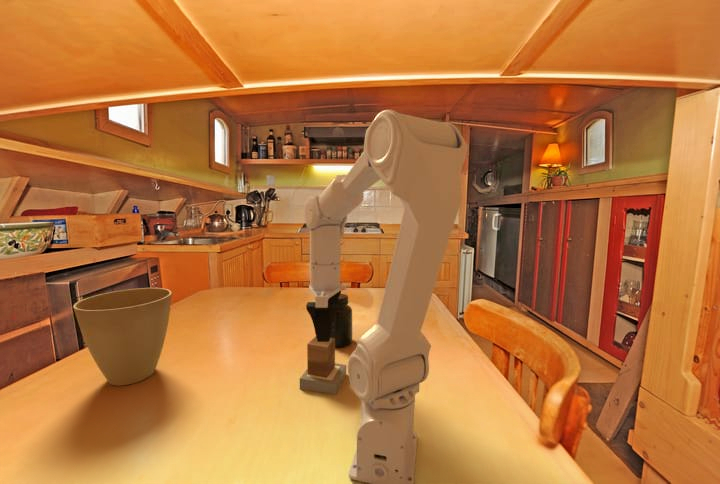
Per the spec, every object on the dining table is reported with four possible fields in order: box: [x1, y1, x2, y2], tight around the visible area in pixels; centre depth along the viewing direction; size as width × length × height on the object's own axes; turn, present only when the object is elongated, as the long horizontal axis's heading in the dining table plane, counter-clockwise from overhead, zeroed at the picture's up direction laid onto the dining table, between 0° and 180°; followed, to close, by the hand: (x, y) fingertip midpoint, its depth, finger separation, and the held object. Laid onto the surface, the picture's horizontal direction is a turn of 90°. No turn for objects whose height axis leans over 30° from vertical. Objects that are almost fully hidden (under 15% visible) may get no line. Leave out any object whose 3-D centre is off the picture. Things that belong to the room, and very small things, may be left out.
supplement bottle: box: [330, 293, 353, 349], centre depth 75 cm, size 7×7×12 cm
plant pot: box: [72, 287, 173, 387], centre depth 59 cm, size 15×15×16 cm
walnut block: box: [306, 336, 336, 378], centre depth 58 cm, size 4×4×6 cm
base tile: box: [299, 362, 347, 395], centre depth 59 cm, size 7×7×2 cm
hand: (325, 332), depth 58 cm, fingers open, 7 cm apart
